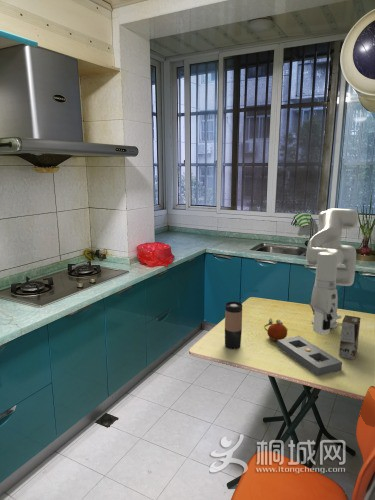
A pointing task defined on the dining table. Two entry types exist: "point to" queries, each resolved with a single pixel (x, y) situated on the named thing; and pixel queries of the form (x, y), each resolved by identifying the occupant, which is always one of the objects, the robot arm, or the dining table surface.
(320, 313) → the plug
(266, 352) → the dining table surface
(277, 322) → the extension cord
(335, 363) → the socket block
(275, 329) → the fruit
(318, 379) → the dining table surface
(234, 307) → the travel mug
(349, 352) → the coffee box
